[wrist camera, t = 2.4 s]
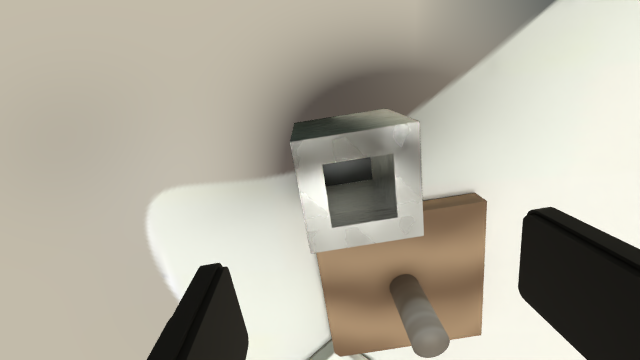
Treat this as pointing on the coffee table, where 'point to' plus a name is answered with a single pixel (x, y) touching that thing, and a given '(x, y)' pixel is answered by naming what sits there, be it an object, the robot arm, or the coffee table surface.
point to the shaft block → (410, 284)
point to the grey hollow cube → (362, 196)
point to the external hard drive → (333, 354)
